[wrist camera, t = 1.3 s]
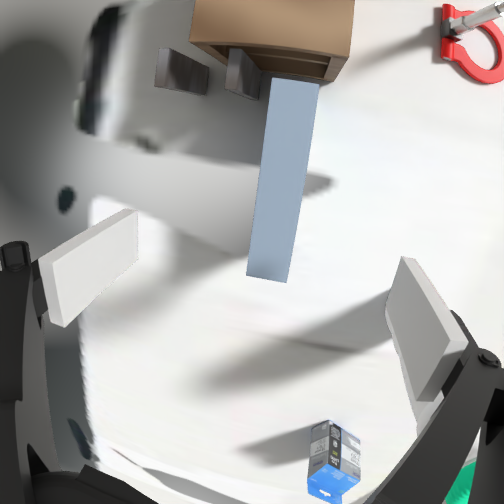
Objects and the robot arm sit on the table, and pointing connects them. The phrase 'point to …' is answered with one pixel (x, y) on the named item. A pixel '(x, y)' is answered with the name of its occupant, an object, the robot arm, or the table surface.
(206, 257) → the table surface
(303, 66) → the cabinet
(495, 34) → the tow hook
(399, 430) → the table surface
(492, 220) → the table surface
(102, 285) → the robot arm
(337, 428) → the label tape box
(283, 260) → the door
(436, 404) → the water bottle
